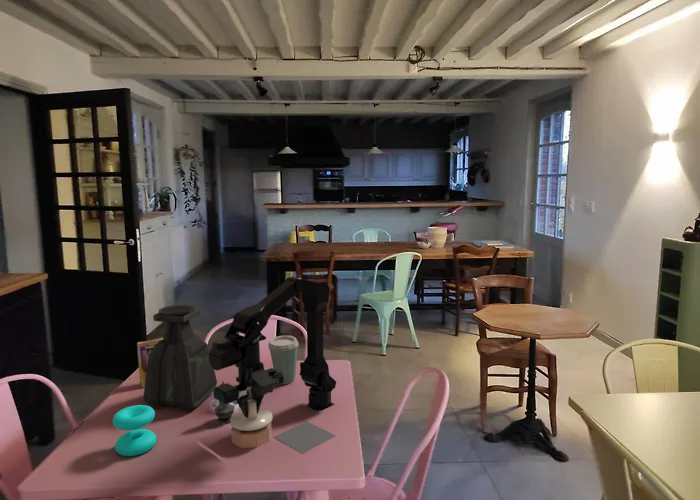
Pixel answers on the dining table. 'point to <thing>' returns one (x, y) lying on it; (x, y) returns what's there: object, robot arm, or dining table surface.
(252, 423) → the lid
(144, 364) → the candy box
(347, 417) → the dining table surface
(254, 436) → the bowl
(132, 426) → the donuts
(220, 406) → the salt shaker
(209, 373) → the bottle
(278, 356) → the disposable coffee cup
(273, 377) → the robot arm
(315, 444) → the mat
